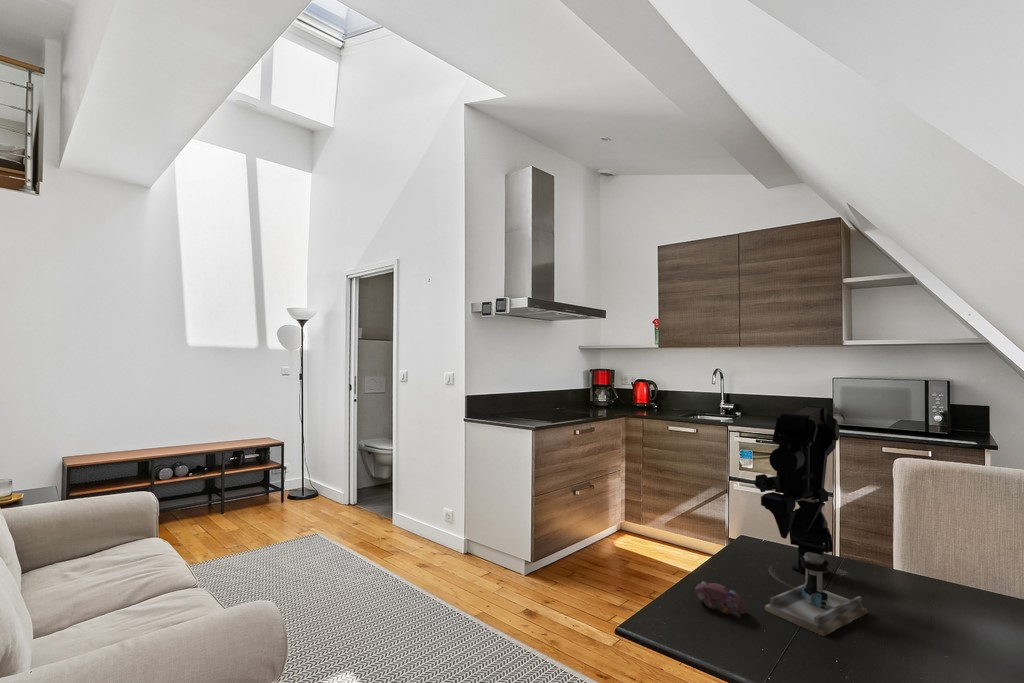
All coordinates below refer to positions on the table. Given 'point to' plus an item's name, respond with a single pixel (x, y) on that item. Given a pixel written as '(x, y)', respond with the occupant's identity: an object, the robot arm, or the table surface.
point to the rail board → (816, 611)
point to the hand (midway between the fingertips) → (794, 534)
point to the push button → (814, 579)
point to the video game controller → (720, 597)
